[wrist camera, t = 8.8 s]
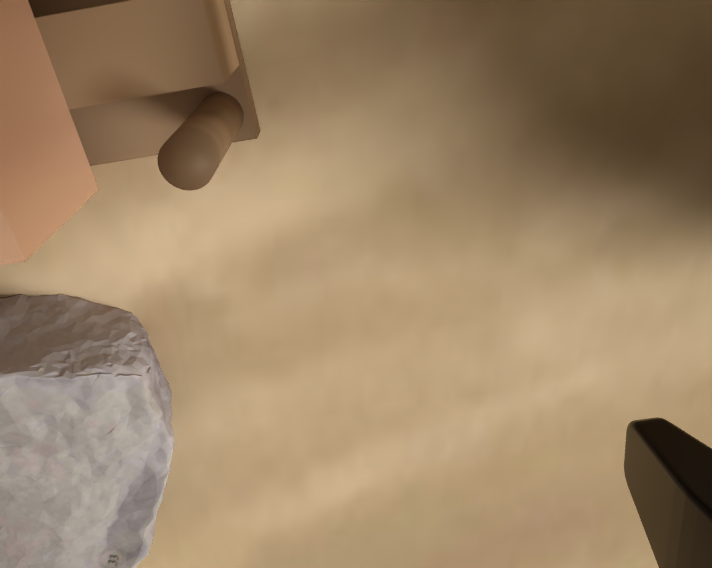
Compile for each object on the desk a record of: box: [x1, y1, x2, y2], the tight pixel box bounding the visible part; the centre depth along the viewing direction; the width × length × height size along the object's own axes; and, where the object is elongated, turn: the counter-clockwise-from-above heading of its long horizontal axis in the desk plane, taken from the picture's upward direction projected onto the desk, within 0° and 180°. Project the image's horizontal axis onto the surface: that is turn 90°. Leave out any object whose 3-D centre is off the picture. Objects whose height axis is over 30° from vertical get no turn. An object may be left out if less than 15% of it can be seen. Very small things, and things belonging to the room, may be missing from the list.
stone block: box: [0, 294, 174, 568], centre depth 22 cm, size 12×5×10 cm
